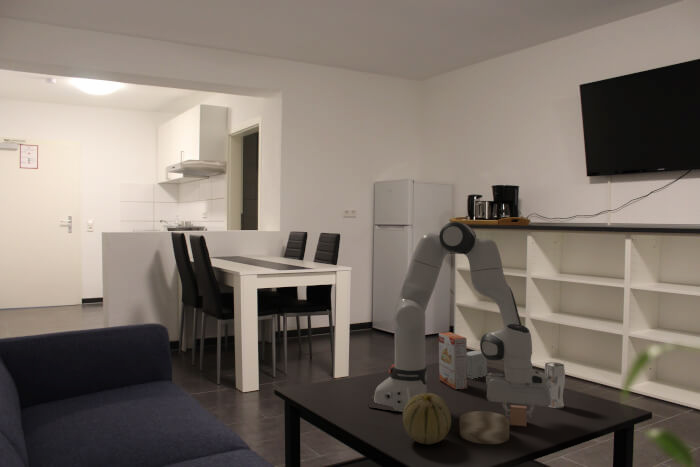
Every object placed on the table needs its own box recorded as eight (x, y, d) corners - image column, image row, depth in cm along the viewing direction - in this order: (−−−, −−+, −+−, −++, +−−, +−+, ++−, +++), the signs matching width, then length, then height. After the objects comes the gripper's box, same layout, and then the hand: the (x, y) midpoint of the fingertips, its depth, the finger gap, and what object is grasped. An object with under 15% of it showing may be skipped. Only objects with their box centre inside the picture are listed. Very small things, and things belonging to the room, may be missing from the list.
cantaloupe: (432, 430, 178) (431, 383, 178) (462, 445, 165) (461, 395, 165) (393, 439, 171) (392, 390, 171) (421, 455, 158) (420, 402, 158)
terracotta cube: (510, 424, 182) (510, 409, 182) (510, 419, 186) (510, 405, 186) (526, 426, 180) (526, 410, 180) (526, 421, 185) (526, 406, 185)
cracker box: (438, 381, 236) (438, 332, 236) (451, 380, 237) (450, 331, 237) (454, 390, 222) (453, 338, 222) (467, 389, 224) (467, 337, 224)
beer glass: (552, 409, 197) (552, 367, 197) (540, 403, 204) (540, 363, 204) (569, 407, 199) (569, 365, 199) (557, 402, 206) (556, 361, 206)
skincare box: (475, 373, 250) (475, 349, 250) (487, 376, 244) (487, 352, 244) (460, 377, 243) (460, 353, 243) (472, 380, 238) (471, 355, 238)
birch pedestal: (456, 441, 168) (456, 424, 168) (462, 424, 183) (462, 409, 183) (508, 446, 164) (508, 429, 164) (510, 429, 178) (510, 413, 178)
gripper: (485, 374, 184) (485, 416, 184) (550, 379, 177) (551, 422, 177) (486, 370, 190) (486, 410, 190) (550, 374, 183) (550, 416, 183)
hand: (518, 416), depth 183 cm, fingers closed on terracotta cube, 5 cm apart
